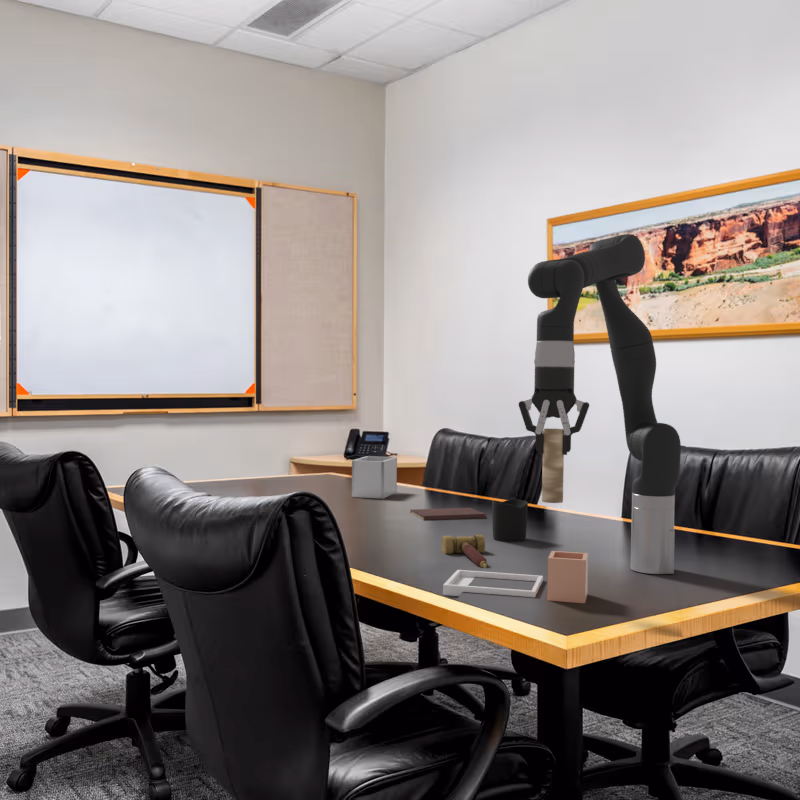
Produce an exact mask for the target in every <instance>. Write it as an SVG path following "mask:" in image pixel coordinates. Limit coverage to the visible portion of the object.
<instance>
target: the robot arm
mask: <svg viewBox="0 0 800 800" xmlns="http://www.w3.org/2000/svg"><path fill="white" fill-rule="evenodd" d="M645 262H646V253H645V249H644V245H643V243H642V241H641V240H640V238H639V237H637V235H634V234H630V233H626V234H625V233H624V234H619V235H615V236H612V237H608V238H605V239H601V240H597V241H594V242H592V243H591V244H590V246H589V250H587V251H582V252H578V253H575V254H571V255H569V256H567V257H564V258H557V259H551V260H545V261H540V262H538V263H536V264H534V266H532V268H531V269H530V271H529V273H528V277H527V285H528V288H529V290H530V292H531V293H532V294H533V295H534V296H535V297H536V298H540V299H557V298H558V301H557V303H556V305H555V307H552V308H550V309H546V310H544V311H543V310H542V311H541V312H539V314H537V318H536V344H535V345H536V346H535V350H534V351H535V352H534V360H533V361H534V362H533V363H534V385H533V386H534V389H533V391H534V392H533V394H532V396H531V398H529V399H527V400H520V401H519V402H518V407H519V411H520V415H521V417H522V420H523V424H524V426H525V429H526V431H528V432H530V433H534V434H535V450H536V452H538V454H539V455H543V429H545V424H546V422H547V419H548V418H556V419H560V421H561V425H562V429H563V430H564V436H563V455H564V456H568V453H570V452H571V450H572V436H573V434H576V433H579V432H580V431H581V429H582V427H583V424H584V422H585V418H586V416H587V414H588V411H589V408H590V402H587V401H582V400H579V399H577V397H576V394H575V363H576V362H575V361H576V360H575V357H576V355H575V354H576V353H575V346H574V345H575V344H574V340H575V339H574V338H575V337H574V333H575V319H576V318H575V317H576V314H577V310H578V307H579V304H580V303H579V302H580V300H581V296H582V293H583V290H584V289H585V288H589V287H590V286H592V285H595V288H596V292H597V295H598V297H599V300H600V304H601V309H602V313H603V316H604V322H605V327H606V331H607V336H608V342H609V343H608V344H609V348H610V353H611V358H612V362H613V367H614V370H615V375H616V379H617V380H616V381H617V385H618V390H619V395H620V399H621V404H622V410H623V411H622V412H623V421H624V432H625V441H626V445H627V449H628V452H629V453H630V454H631V456H632V457H634V459H635V460H637V461H640V462H641V472H640V474H639V476H638V477H637V478H635V479H634V480H632V483H631V485H632V487H631V525H630V526H631V527H630V528H631V529H630V530H631V533H630V569H631V570H632V571H634V572H637V573H641V574H642V573H643V574H650V575H666V574H670V575H671V574H674V573H675V572H674V571H675V538H676V537H675V534H676V532H675V504H676V503H675V502H676V501H675V500H676V499H675V498H676V497H675V495H676V494H675V493H676V487H677V485H678V483H679V479H680V471H681V470H680V468H681V453H682V450H681V449H682V444H681V438H680V435H679V433H678V431H677V430H676V428H675V427H674V426H672V425H671V424H669V423H664V422H658V420H657V418H656V413H655V409H654V405H653V404H654V402H653V388H654V381H655V378H656V371H657V357H656V351H655V346H654V341H653V337H652V334H651V331H650V329H649V328H648V327H647V325H646V324H645V323H644V322H643V321H642V320H641V318H639V316H637V315H636V314H635V313H634V312H633V310H631V309H630V308H629V306H628V305H627V303H626V302H625V301H624V300H623V297H622V296H621V293H620V290H619V289H618V286H617V285H618V284H617V282H616V280H619V279H625V278H627V277H632V276H635V275H637V274H638V273H640V272H641V271H642V270H643V269H644V266H645ZM532 405H533V406H534V407H535V408H536V410H537V411H538V413H539V416H538V421H537V424H536V425H534V424H533V421H532V417H531V414H530V411H531V410H532ZM574 406H576V410H577V413H578V416H577V418H576V421H575V424H574V426H571V424H570V420H569V416H568V415H569V413H570V411H571V410H572V408H573V407H574ZM674 575H675V574H674Z"/></svg>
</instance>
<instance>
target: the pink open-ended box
mask: <svg viewBox="0 0 800 800" xmlns="http://www.w3.org/2000/svg"><path fill="white" fill-rule="evenodd" d="M588 577H589V552H577V551H575V552H574V551H573V552H572V551H560V550H559V551H557V550H551V551H550V554H549V555H548V557H547V598H546V599H547V600H546V601H550V602H551V601H552V602H561V603H562V602H564V603H565V602H566V603H575V604H576V603H577V604H578V603H579V604H586V602H587V598H588V587H589V586H588V580H589V579H588Z"/></svg>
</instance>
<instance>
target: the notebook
mask: <svg viewBox="0 0 800 800" xmlns="http://www.w3.org/2000/svg"><path fill="white" fill-rule="evenodd" d="M409 513H410V514H412V515H414V516H416V517H417V518H419V519H421V520H423V521H445V520H446V521H447V520H449V521H450V520H451V521H452V520H474V519H475V520H477V519H478V520H479V519H486V518H487V515H486V513H485V512H482V511H479V510H476V509H474V508H471V507H455V508H454V507H453V508H452V507H450V508H448V507H447V508H425V509H424V508H421V509H420V508H417V509H415V508H413V509H410V512H409Z"/></svg>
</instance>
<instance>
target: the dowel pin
mask: <svg viewBox="0 0 800 800" xmlns="http://www.w3.org/2000/svg"><path fill="white" fill-rule="evenodd" d="M563 436H564V430H563V428H543V454H542V474H541V479H542V481H541V490H542V491H541V502H542V503H547V504H562V503H564V471H565V470H564V469H565V467H564V463H565V460H564V457H565V455H563Z"/></svg>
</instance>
